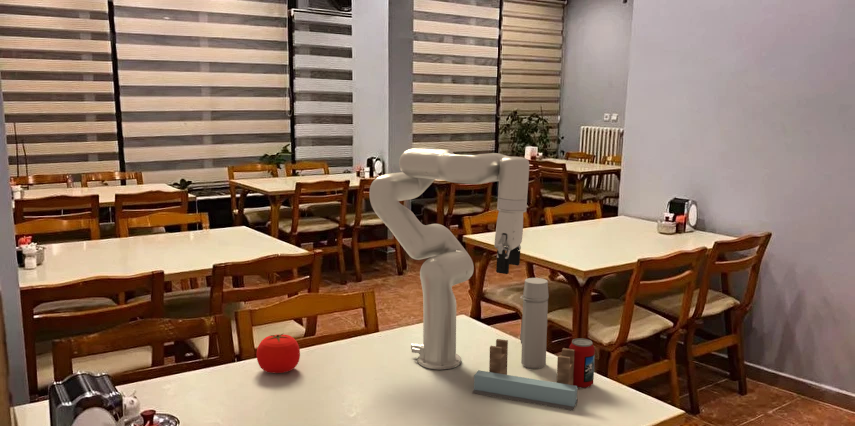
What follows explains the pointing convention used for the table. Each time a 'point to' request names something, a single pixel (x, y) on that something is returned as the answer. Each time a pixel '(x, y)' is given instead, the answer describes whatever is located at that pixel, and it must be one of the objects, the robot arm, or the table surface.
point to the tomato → (278, 353)
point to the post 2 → (565, 367)
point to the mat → (525, 400)
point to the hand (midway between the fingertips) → (508, 268)
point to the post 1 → (499, 357)
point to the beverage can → (583, 362)
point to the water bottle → (534, 323)
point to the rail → (526, 388)
